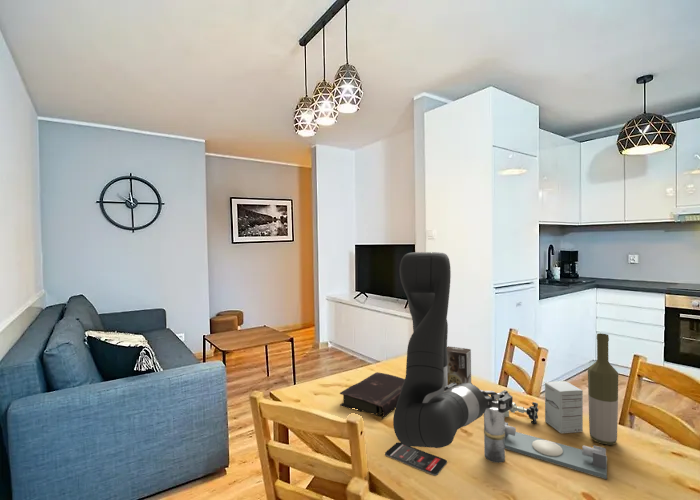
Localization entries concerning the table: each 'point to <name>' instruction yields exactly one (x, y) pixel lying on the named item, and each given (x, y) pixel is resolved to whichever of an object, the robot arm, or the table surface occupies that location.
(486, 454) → the sleeve
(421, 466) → the smartphone
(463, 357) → the coffee box
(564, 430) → the supplement box
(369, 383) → the diary
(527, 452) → the shaft bench
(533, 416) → the valve
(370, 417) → the table surface
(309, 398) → the table surface
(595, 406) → the bottle
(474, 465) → the table surface
